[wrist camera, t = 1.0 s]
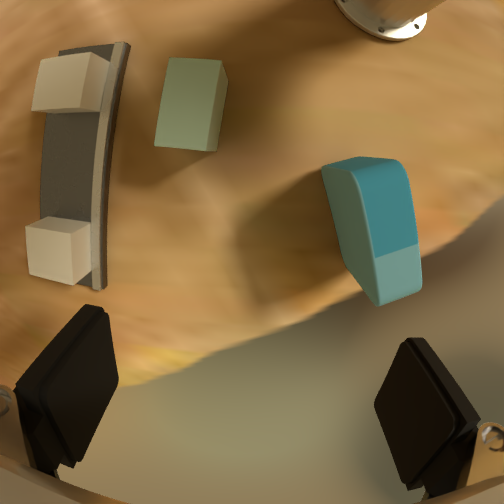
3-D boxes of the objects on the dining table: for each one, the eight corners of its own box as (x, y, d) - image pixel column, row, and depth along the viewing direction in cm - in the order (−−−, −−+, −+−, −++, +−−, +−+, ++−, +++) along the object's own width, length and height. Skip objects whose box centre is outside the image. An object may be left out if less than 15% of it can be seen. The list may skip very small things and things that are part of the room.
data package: (377, 253, 35) (424, 297, 24) (343, 264, 35) (379, 314, 24) (355, 155, 31) (405, 159, 20) (318, 165, 32) (353, 173, 20)
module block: (187, 77, 29) (169, 57, 21) (228, 81, 29) (221, 60, 21) (176, 146, 31) (153, 146, 24) (216, 151, 31) (205, 151, 24)
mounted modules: (64, 67, 26) (41, 59, 22) (111, 62, 27) (91, 51, 22) (50, 260, 34) (29, 274, 29) (92, 269, 34) (73, 285, 30)
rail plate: (64, 52, 27) (57, 50, 25) (130, 45, 27) (125, 41, 25) (48, 272, 36) (42, 276, 34) (107, 285, 36) (101, 291, 35)
